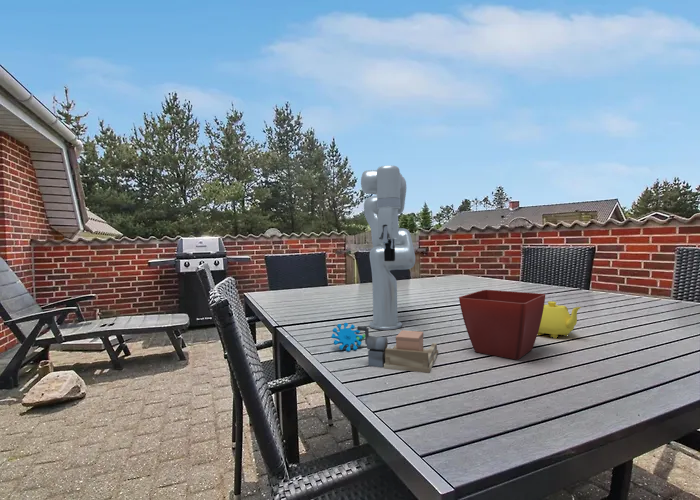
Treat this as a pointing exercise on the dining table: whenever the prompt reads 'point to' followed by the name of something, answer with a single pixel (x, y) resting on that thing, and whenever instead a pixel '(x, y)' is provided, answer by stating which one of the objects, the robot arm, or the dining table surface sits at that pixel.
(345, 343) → the gear
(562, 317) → the teapot
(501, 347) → the plant pot
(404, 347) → the pink-tan cube
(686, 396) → the dining table surface
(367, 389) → the dining table surface
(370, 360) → the bay
